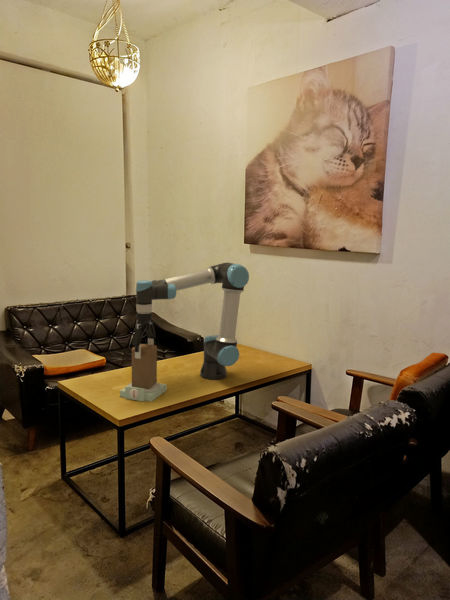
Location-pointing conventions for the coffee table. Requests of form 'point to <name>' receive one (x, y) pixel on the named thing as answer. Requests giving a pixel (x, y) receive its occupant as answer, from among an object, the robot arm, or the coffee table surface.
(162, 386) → the scale
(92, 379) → the coffee table surface
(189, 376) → the coffee table surface
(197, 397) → the coffee table surface
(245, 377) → the coffee table surface
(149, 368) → the wooden block
